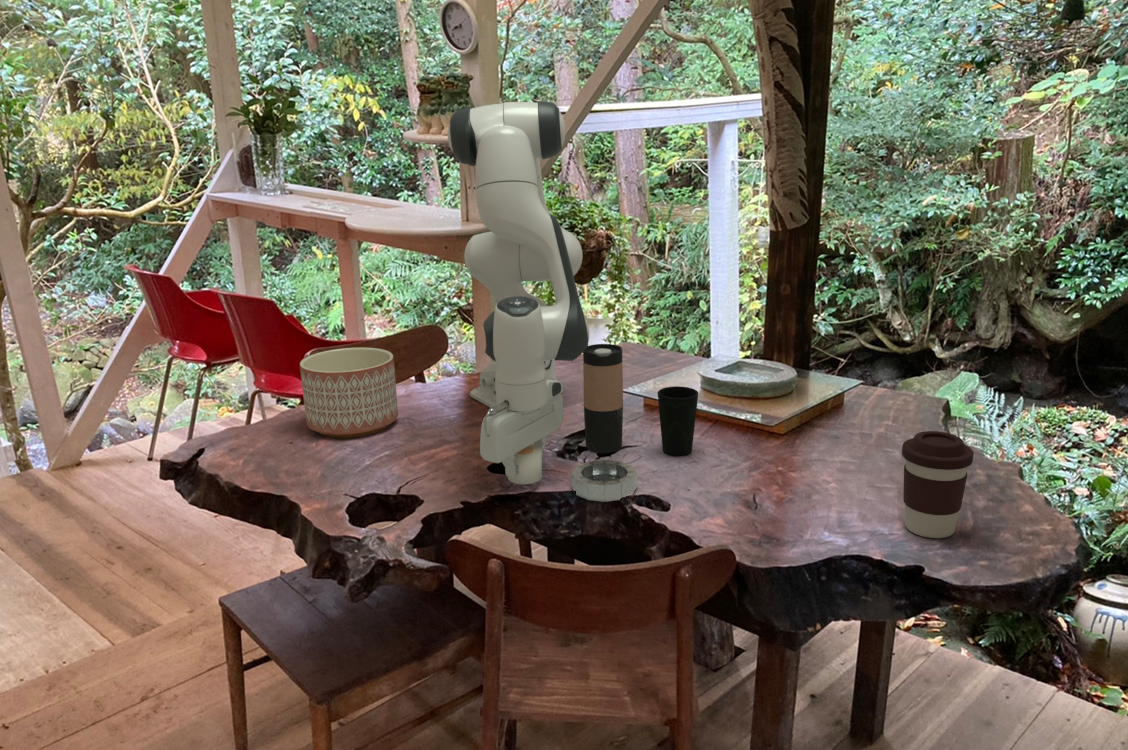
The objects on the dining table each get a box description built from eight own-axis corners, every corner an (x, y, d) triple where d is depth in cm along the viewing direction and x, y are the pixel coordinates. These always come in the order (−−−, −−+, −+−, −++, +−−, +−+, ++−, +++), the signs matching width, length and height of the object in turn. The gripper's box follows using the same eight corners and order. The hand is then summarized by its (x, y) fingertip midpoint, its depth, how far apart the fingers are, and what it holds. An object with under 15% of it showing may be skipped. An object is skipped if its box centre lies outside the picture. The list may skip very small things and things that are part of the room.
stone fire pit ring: (560, 488, 154) (559, 472, 153) (604, 470, 161) (604, 455, 160) (604, 507, 146) (604, 490, 145) (649, 487, 153) (649, 471, 152)
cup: (695, 459, 165) (697, 399, 161) (655, 457, 166) (655, 397, 163) (698, 445, 172) (699, 387, 169) (659, 443, 173) (659, 385, 170)
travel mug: (602, 437, 178) (601, 341, 172) (631, 446, 172) (631, 348, 167) (576, 447, 172) (574, 349, 167) (604, 457, 167) (603, 356, 161)
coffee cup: (893, 511, 142) (901, 424, 137) (959, 518, 139) (970, 429, 135) (897, 539, 133) (905, 447, 128) (968, 547, 130) (979, 453, 125)
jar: (501, 477, 154) (499, 449, 153) (527, 467, 158) (526, 440, 156) (522, 487, 150) (521, 458, 148) (549, 477, 154) (548, 449, 152)
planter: (369, 445, 177) (362, 374, 172) (288, 436, 183) (280, 368, 178) (414, 414, 194) (409, 350, 190) (339, 407, 200) (333, 345, 196)
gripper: (499, 415, 139) (503, 494, 144) (568, 379, 156) (570, 451, 160) (468, 408, 143) (473, 485, 147) (539, 374, 159) (542, 445, 163)
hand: (524, 467), depth 154 cm, fingers closed on jar, 6 cm apart
